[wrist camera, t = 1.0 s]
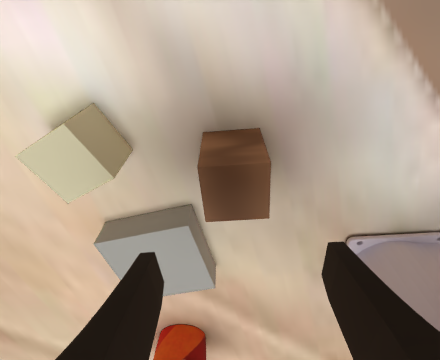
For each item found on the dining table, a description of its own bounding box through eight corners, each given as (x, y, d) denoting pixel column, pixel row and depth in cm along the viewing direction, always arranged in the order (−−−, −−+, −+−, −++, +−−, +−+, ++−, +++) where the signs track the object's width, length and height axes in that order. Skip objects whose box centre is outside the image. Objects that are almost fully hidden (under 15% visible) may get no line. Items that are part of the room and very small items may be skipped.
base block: (191, 201, 22) (188, 225, 20) (215, 261, 26) (215, 288, 24) (107, 219, 23) (93, 243, 21) (143, 274, 27) (135, 300, 25)
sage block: (94, 102, 17) (63, 123, 14) (133, 149, 19) (114, 178, 16) (52, 130, 18) (15, 156, 15) (93, 172, 20) (68, 203, 17)
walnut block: (259, 127, 18) (270, 162, 14) (259, 175, 20) (269, 218, 16) (202, 132, 18) (197, 167, 14) (208, 179, 20) (205, 222, 16)
